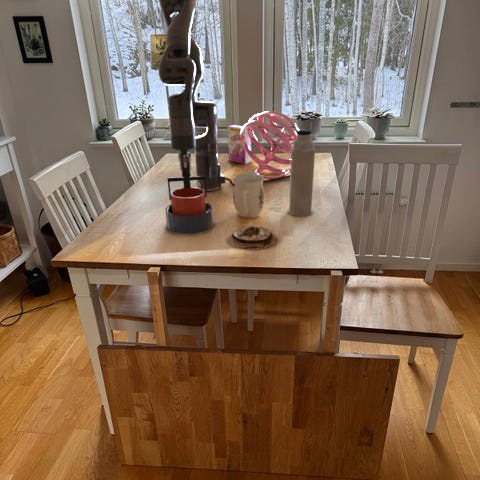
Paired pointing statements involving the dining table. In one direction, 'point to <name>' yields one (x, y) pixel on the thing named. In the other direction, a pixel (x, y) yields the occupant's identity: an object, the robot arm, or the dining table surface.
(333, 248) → the dining table surface
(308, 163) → the thermos bottle
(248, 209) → the pitcher
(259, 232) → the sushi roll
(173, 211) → the red bucket
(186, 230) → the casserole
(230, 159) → the candy bar box
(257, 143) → the spiral basket
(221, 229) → the dining table surface
